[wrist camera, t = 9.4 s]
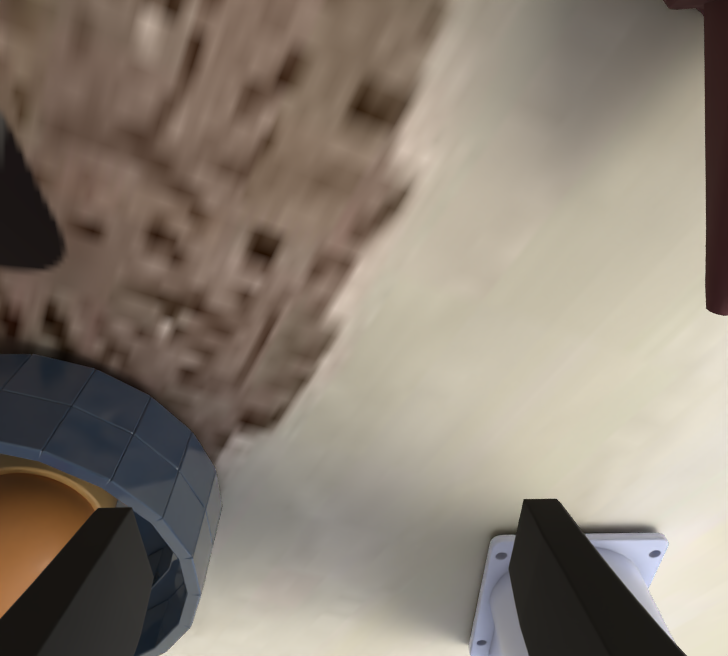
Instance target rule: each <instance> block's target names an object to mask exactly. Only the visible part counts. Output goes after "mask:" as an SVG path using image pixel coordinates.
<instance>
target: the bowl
mask: <svg viewBox="0 0 728 656" xmlns="http://www.w3.org/2000/svg"><path fill="white" fill-rule="evenodd" d="M0 454H4V455H9V456H14V457H18V458H23V459H28V460H33V461H38V462H41V463H43V464H45V465H48V466H50V467H53V468H55V469H57V470H60V471H62V472H64V473H67V474H69V475H72V476H74V477H76V478H79V479H81V480H83V481H86V482H88V483H91V484H93V485H95V486H98V487H100V488H102V489H103V490H105V491H106V492H108V493H109V494H110V495H112V496H113V497H115V498H116V499H117V504H116V507H132V509H133V512H134V516H135V519H136V522H137V525H138V528H139V531H140V534H141V538H142V541H143V544H144V547H145V550H146V553H147V557H148V560H149V563H150V566H151V569H152V572H153V576H154V579H153V583H152V588H151V593H150V597H149V602H148V606H147V611H146V615H145V619H144V623H143V628H142V632H141V636H140V639H139V642H138V645H137V648H136V651H135V654H134V656H159V655H161V654H163V653H165V652H167V651H168V650H169V649H170V648H171V647H172V646H173V645H174V644H175V643H176V642H177V641H178V640H179V639H180V638H181V637H182V636H183V635H184V634H185V633H186V632H187V631H188V630H189V629H190V627H191V626H192V623H193V620H194V617H195V614H196V610H197V607H198V604H199V601H200V598H201V594H202V590H203V586H204V582H205V578H206V573H207V569H208V565H209V561H210V557H211V552H212V548H213V544H214V540H215V536H216V531H217V527H218V523H219V519H220V515H221V510H222V500H221V494H220V489H219V483H218V477H217V472H216V468H215V466H214V465H213V463H212V462H211V460H210V458H209V457H208V455H207V454H206V452H205V450H204V449H203V447H202V446H201V444H200V442H199V441H198V439H197V438H196V436H195V435H194V433H193V432H191V430H190V429H189V428H188V427H187V426H186V425H184V424H183V423H182V422H181V421H180V420H179V419H177V418H176V417H175V416H174V415H173V414H172V413H170V412H169V411H168V410H167V409H166V408H164V407H163V406H162V405H161V404H160V403H159V402H157V401H156V400H155V399H154V398H152V397H151V396H150V395H148V394H146V393H144V392H142V391H140V390H138V389H136V388H134V387H132V386H130V385H128V384H126V383H124V382H122V381H120V380H118V379H116V378H114V377H112V376H110V375H108V374H106V373H104V372H102V371H100V370H98V369H96V370H95V368H92V367H88V366H83V365H79V364H75V363H71V362H67V361H62V360H58V359H54V358H50V357H46V356H42V355H37V354H32V355H31V354H0Z"/></svg>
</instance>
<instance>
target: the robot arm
mask: <svg viewBox="0 0 728 656" xmlns="http://www.w3.org/2000/svg"><path fill="white" fill-rule="evenodd" d="M668 546H669V542H668V540H667V539H666V537H665V535H664V534H662V533H597V534H584V533H583V532H582V530H581V529H580V528H579V526H578V525H577V524H576V522H575V521H574V520H573V518H572V517H571V516H570V514H569V513H568V512H567V510H566V509H565V508H564V507H563V505H562V504H561V503H560V502H559V501H558V500H557V499H524V501H523V505H522V510H521V514H520V519H519V523H518V528H517V532H516V535H498V536H496V537H494V538H493V539H492V540H491V542H490V545H489V550H488V555H487V560H486V565H485V569H484V574H483V579H482V584H481V589H480V594H479V598H478V603H477V608H476V613H475V618H474V623H473V627H472V632H471V637H470V642H469V653H470V655H471V656H687V655H686V654H685V653H684V652H683V651H682V650H681V649H680V648H679V647H678V646H677V645H676V643H675V641H674V639H673V637H672V635H671V633H670V631H669V629H668V627H667V625H666V623H665V621H664V619H663V617H662V615H661V613H660V611H659V609H658V607H657V605H656V603H655V601H654V599H653V597H652V595H651V594H650V592H649V590H648V588H649V586H650V584H651V582H652V580H653V578H654V576H655V573H656V571H657V569H658V567H659V565H660V563H661V561H662V558H663V556H664V554H665V552H666V550H667V548H668ZM153 579H154V576H153V572H152V569H151V566H150V563H149V560H148V557H147V553H146V550H145V547H144V544H143V541H142V538H141V534H140V531H139V528H138V525H137V522H136V519H135V516H134V512H133V509H132V507H114V508H98V509H96V510H95V511H94V512H93V513H92V515H91V516H90V517H89V518H88V519H87V520H86V521H85V523H84V524H83V525H82V526H81V527H80V528H79V530H78V531H77V532H76V533H75V534H74V535H73V537H72V538H71V539H70V540H69V541H68V542H67V544H66V545H65V546H64V547H63V548H62V549H61V551H60V552H59V553H58V554H57V555H56V556H55V558H54V559H53V560H52V561H51V562H50V563H49V564H48V566H47V567H46V568H45V569H44V570H43V571H42V572H41V574H40V575H39V576H38V577H37V578H36V579H35V581H34V582H33V583H32V584H31V585H30V586H29V587H28V588H27V589H26V591H25V592H24V593H23V594H22V595H21V596H20V597H19V598H18V599H17V600H16V602H15V603H14V604H13V605H12V606H11V607H10V608H9V609H8V610H7V612H6V613H5V614H4V615H3V616H2V617H1V618H0V656H134V654H135V651H136V648H137V645H138V642H139V639H140V636H141V632H142V628H143V623H144V619H145V615H146V611H147V606H148V602H149V597H150V593H151V588H152V583H153Z"/></svg>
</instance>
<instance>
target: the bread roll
mask: <svg viewBox="0 0 728 656" xmlns="http://www.w3.org/2000/svg"><path fill="white" fill-rule="evenodd" d="M116 504H117V499H116V498H115V497H113V496H112V495H110V494H109V493H108V492H106V491H105V490H103V489H102V488H100V487H98V486H95V485H93V484H91V483H88V482H86V481H83V480H81V479H79V478H76V477H74V476H72V475H69V474H67V473H64V472H62V471H60V470H57V469H55V468H53V467H50V466H48V465H45V464H43V463H41V462H38V461H33V460H28V459H23V458H18V457H14V456H9V455H4V454H0V618H1V617H2V616H3V615H4V614H5V613H6V612H7V610H8V609H9V608H10V607H11V606H12V605H13V604H14V603H15V602H16V600H17V599H18V598H19V597H20V596H21V595H22V594H23V593H24V592H25V591H26V589H27V588H28V587H29V586H30V585H31V584H32V583H33V582H34V581H35V579H36V578H37V577H38V576H39V575H40V574H41V572H42V571H43V570H44V569H45V568H46V567H47V566H48V564H49V563H50V562H51V561H52V560H53V559H54V558H55V556H56V555H57V554H58V553H59V552H60V551H61V549H62V548H63V547H64V546H65V545H66V544H67V542H68V541H69V540H70V539H71V538H72V537H73V535H74V534H75V533H76V532H77V531H78V530H79V528H80V527H81V526H82V525H83V524H84V523H85V521H86V520H87V519H88V518H89V517H90V516H91V515H92V513H93V512H94V511H95V510H96V509H98V508H114V507H116Z"/></svg>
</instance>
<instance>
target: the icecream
mask: <svg viewBox="0 0 728 656" xmlns="http://www.w3.org/2000/svg"><path fill="white" fill-rule="evenodd" d="M663 1H664V3H665V4H666V5H667V7H668V8H669V9H676V10H678V9H693V8H696V9H697V10H698V11H700V12H701V13H702V15H703V16H704V57H705V160H706V273H705V291H706V309H707V310H709V311H710V312H712V313H715V314H718V315H723V316H726V315H728V0H663Z"/></svg>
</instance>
